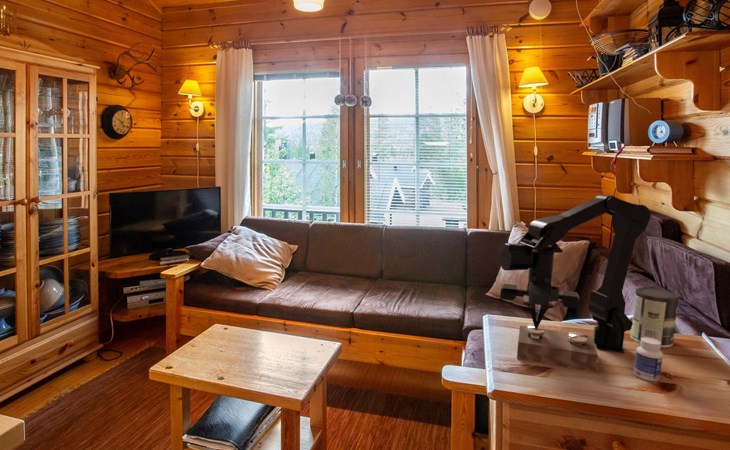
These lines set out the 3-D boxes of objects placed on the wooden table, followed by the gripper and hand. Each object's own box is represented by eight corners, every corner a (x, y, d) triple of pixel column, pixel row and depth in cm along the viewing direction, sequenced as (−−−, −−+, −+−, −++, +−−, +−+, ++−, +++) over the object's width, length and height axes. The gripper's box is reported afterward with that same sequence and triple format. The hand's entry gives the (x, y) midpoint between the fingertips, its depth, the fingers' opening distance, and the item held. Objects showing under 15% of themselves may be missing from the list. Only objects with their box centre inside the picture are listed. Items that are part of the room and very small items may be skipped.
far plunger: (542, 347, 115) (544, 325, 114) (543, 354, 111) (545, 331, 110) (525, 344, 117) (527, 322, 116) (524, 351, 113) (526, 328, 112)
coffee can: (662, 334, 127) (668, 288, 125) (680, 349, 117) (687, 299, 115) (624, 331, 129) (629, 286, 127) (638, 345, 119) (644, 296, 117)
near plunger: (584, 356, 112) (586, 333, 111) (586, 363, 108) (588, 340, 107) (565, 353, 113) (567, 330, 112) (566, 360, 109) (569, 337, 108)
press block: (590, 352, 115) (592, 336, 114) (596, 372, 104) (597, 354, 103) (518, 340, 121) (520, 325, 120) (516, 358, 110) (518, 341, 109)
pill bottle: (660, 384, 99) (665, 347, 97) (633, 377, 101) (637, 342, 100) (659, 374, 103) (663, 339, 102) (633, 368, 106) (637, 334, 105)
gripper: (500, 272, 107) (496, 332, 109) (584, 281, 100) (578, 345, 102) (503, 262, 117) (500, 317, 119) (580, 270, 110) (574, 328, 113)
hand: (536, 327), depth 113 cm, fingers closed, pressing on far plunger
